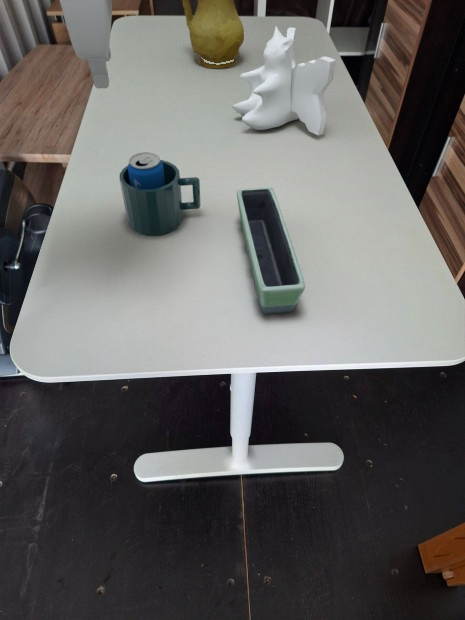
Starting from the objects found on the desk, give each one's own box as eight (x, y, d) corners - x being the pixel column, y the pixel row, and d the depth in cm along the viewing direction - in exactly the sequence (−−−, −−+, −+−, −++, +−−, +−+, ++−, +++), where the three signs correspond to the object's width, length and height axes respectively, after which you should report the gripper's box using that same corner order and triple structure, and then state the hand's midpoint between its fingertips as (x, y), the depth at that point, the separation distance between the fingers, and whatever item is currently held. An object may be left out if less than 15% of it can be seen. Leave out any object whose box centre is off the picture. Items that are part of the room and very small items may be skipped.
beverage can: (129, 216, 89) (118, 161, 80) (150, 201, 93) (143, 147, 84) (153, 228, 87) (145, 173, 78) (174, 212, 91) (169, 158, 82)
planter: (235, 219, 90) (235, 188, 85) (270, 216, 91) (273, 186, 86) (257, 321, 72) (260, 290, 67) (300, 318, 73) (307, 286, 68)
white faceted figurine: (222, 107, 125) (222, 19, 109) (292, 98, 130) (302, 13, 114) (253, 150, 109) (258, 55, 93) (331, 138, 114) (348, 46, 98)
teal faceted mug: (127, 238, 86) (118, 193, 78) (128, 204, 93) (120, 160, 86) (203, 232, 87) (202, 187, 80) (198, 199, 95) (196, 156, 87)
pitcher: (214, 74, 139) (212, -25, 122) (178, 61, 149) (172, -33, 132) (254, 64, 147) (257, -31, 130) (218, 51, 157) (216, -38, 140)
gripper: (61, -76, 56) (84, 46, 66) (40, -42, 43) (73, 104, 53) (112, -75, 57) (127, 45, 67) (108, -42, 43) (127, 103, 54)
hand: (103, 72), depth 60 cm, fingers open, 8 cm apart
